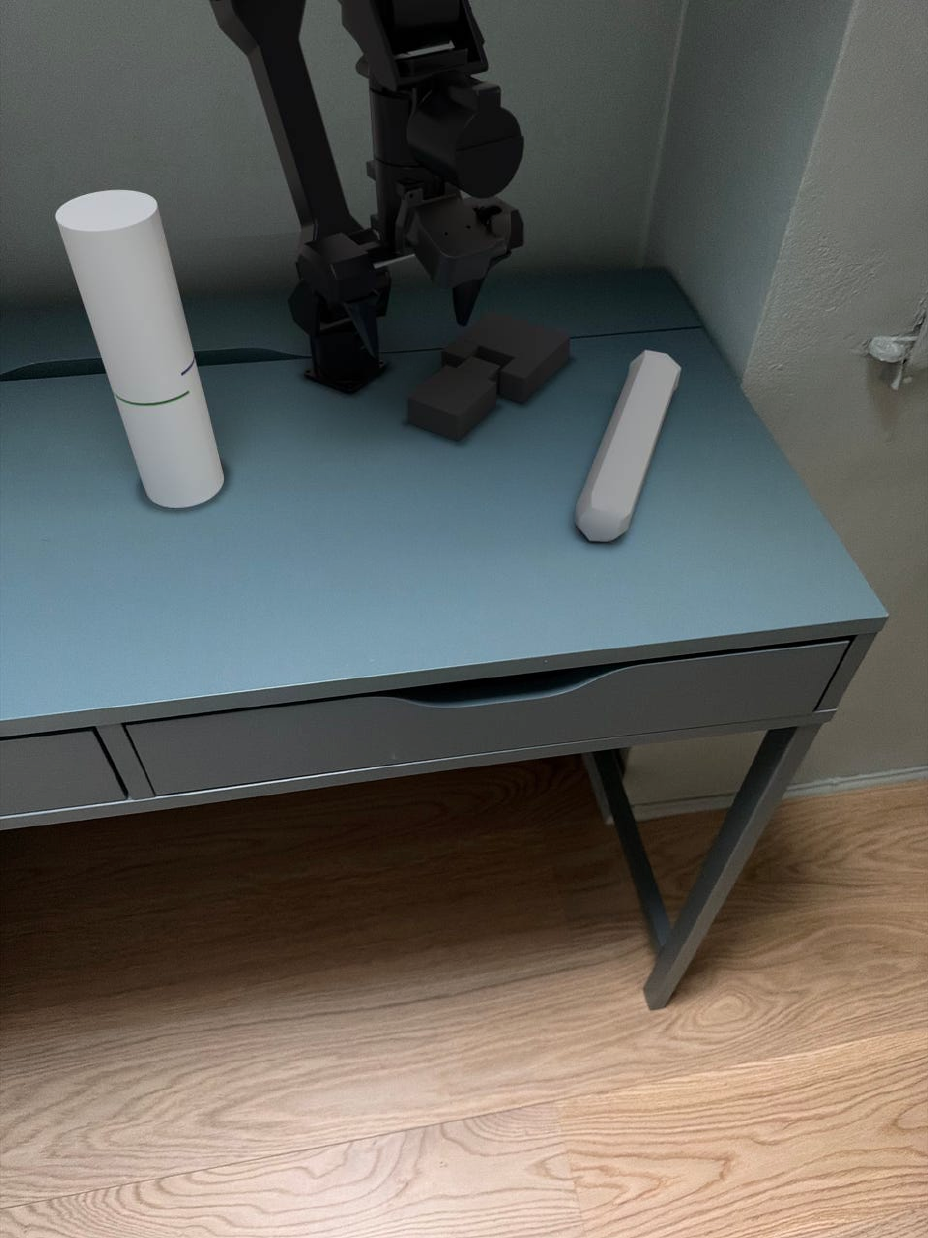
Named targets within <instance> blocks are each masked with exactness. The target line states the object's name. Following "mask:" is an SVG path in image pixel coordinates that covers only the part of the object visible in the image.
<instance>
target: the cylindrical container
mask: <svg viewBox="0 0 928 1238" xmlns="http://www.w3.org/2000/svg"><path fill="white" fill-rule="evenodd" d="M54 216H55V220H56V224H57V226H58V230H59V233H60V236H61V239H62V242H63V244H64V248H65V251H66V254H67V257H68V260H69V263H70V266H71V269H72V272H73V275H74V278H75V281H76V284H77V287H78V290H79V294H80V296H81V299H82V302H83V306H84V308H85V311H86V315H87V318H88V321H89V323H90V326H91V329H92V333H93V337H94V339H95V342H96V345H97V348H98V350H99V351H98V352H99V354H100V357H101V360H102V363H103V366H104V369H105V373H106V375H107V378H108V381H109V384H110V388H111V391H112V393H113V396H114V401H115V402H116V405H117V409H118V411H119V415H120V418H121V420H122V423H123V427H124V429H125V433H126V436H127V439H128V442H129V445H130V448H131V451H132V454H133V457H134V461H135V463H136V467H137V469H138V473H139V476H140V480H141V481H142V485H143V488H144V491H145V494H146V496H147V497H148V499H149V500H151V501H152V502H153V503H154V504H156V505H157V506H161V507H165V508H170V509H172V508H173V509H183V508H189V507H193V506H197V505H200V504H203V503H205V502H206V501H209V500H210V499H212V498H213V497H214V496H216V495H217V494H218V493H219V492H220V490H221V489H222V487H223V485H224V483H225V476H224V471H223V467H222V463H221V458H220V455H219V451H218V446H217V442H216V439H215V434H214V430H213V426H212V422H211V418H210V413H209V410H208V405H207V402H206V397H205V393H204V389H203V385H202V381H201V377H200V373H199V369H198V365H197V360H196V357H195V351H194V349H193V345H192V341H191V335H190V332H189V327H188V324H187V320H186V316H185V311H184V308H183V303H182V299H181V296H180V290H179V287H178V282H177V279H176V275H175V271H174V266H173V263H172V258H171V254H170V250H169V246H168V241H167V238H166V235H165V230H164V225H163V221H162V218H161V217H162V216H161V214H160V210H159V205H158V202H157V200H156V199H155V198H154V197H153V196H151V195H149V194H147V193H144V192H142V191H137V190H130V189H110V190H109V189H108V190H102V191H101V190H100V191H96V192H90V193H87V194H83V195H80V196H77V197H74V198H72V199H70V200H68V201H66V202H65V203H63V204H62V205H60V206H59V208H58V209H57V210H56V212H55V214H54Z"/></svg>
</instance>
